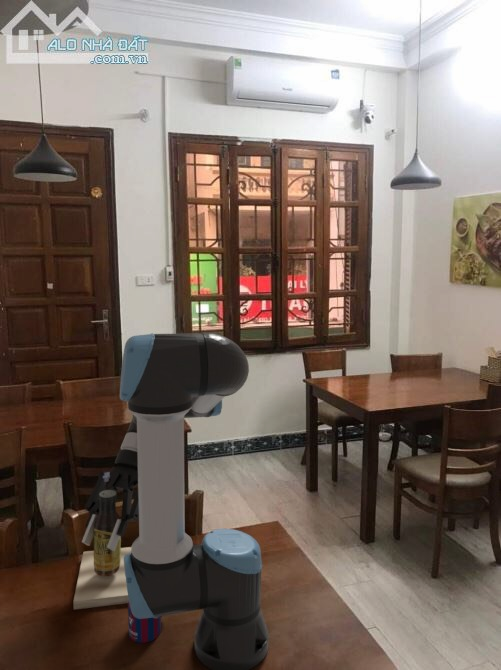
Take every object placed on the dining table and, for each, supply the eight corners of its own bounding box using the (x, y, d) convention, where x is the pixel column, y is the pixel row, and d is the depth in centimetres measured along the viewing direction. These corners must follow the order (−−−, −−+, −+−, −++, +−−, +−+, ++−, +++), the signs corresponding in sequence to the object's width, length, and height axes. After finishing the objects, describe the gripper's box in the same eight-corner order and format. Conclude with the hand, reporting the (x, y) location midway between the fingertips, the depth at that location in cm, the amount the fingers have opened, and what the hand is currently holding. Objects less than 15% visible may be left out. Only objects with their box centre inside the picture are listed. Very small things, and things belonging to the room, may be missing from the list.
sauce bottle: (88, 574, 122) (85, 496, 119) (104, 560, 128) (102, 485, 125) (111, 580, 120) (109, 501, 117) (126, 566, 126) (125, 489, 123)
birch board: (137, 601, 118) (137, 593, 118) (73, 609, 115) (73, 601, 115) (138, 553, 137) (138, 546, 137) (83, 558, 134) (83, 551, 134)
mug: (122, 631, 109) (121, 601, 108) (162, 609, 116) (161, 581, 115) (139, 648, 104) (139, 617, 103) (179, 624, 111) (179, 595, 110)
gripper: (172, 465, 132) (140, 558, 119) (107, 455, 138) (71, 543, 125) (161, 452, 126) (127, 549, 113) (95, 443, 132) (55, 534, 119)
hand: (98, 546), depth 119 cm, fingers open, 6 cm apart
